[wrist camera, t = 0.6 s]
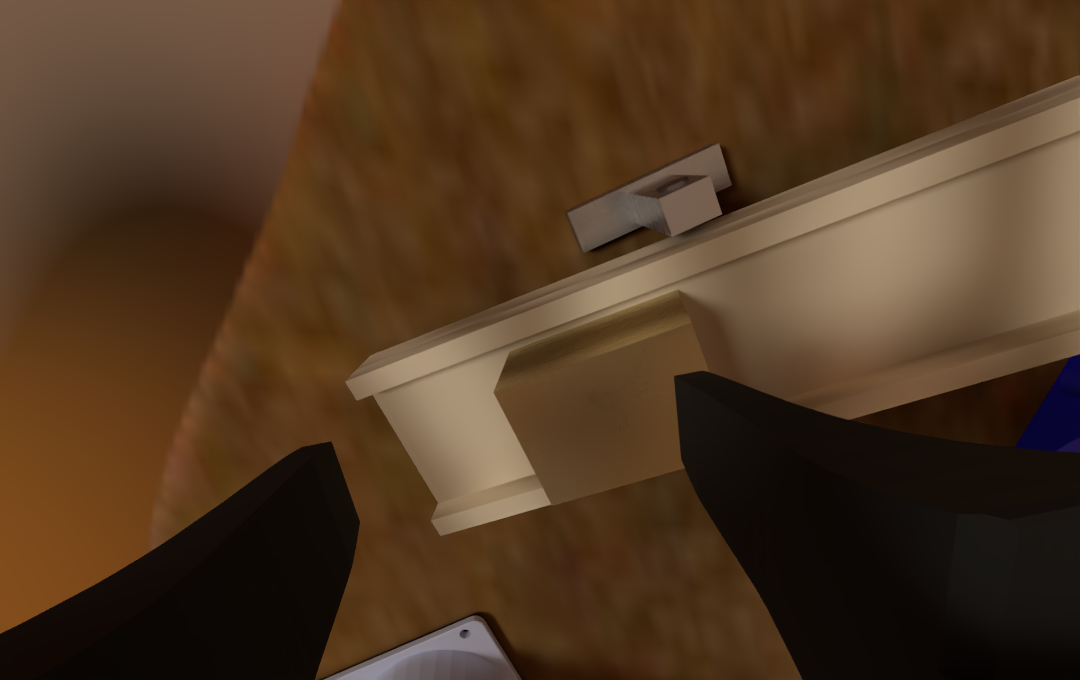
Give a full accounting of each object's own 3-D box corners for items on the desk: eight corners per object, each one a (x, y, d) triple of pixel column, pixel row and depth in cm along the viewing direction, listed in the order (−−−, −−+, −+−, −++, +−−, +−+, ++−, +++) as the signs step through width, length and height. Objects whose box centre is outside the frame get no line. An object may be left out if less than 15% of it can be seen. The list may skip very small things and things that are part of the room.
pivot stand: (659, 439, 24) (701, 506, 19) (564, 211, 20) (587, 224, 16) (785, 384, 23) (860, 438, 19) (710, 144, 20) (778, 136, 15)
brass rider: (559, 452, 20) (552, 505, 17) (509, 351, 19) (493, 392, 16) (718, 402, 19) (738, 452, 16) (677, 289, 17) (692, 322, 14)
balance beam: (454, 498, 23) (435, 547, 20) (370, 355, 21) (337, 389, 18) (1151, 288, 17) (1250, 319, 14) (1138, 51, 14) (1254, 37, 12)
